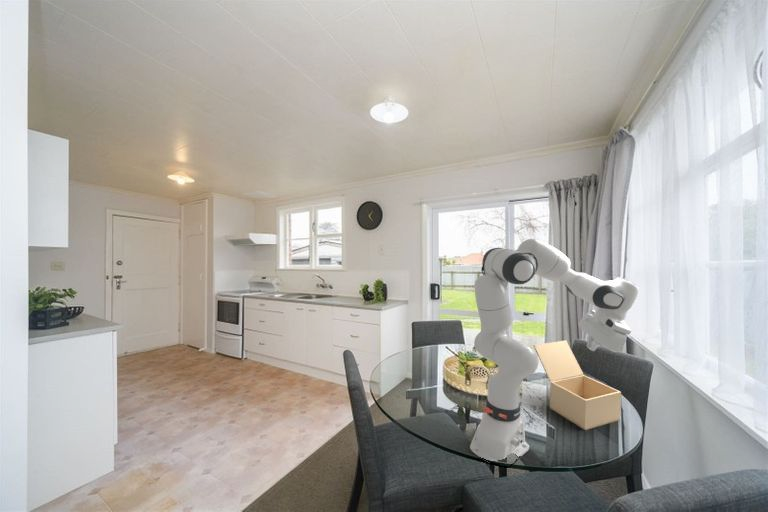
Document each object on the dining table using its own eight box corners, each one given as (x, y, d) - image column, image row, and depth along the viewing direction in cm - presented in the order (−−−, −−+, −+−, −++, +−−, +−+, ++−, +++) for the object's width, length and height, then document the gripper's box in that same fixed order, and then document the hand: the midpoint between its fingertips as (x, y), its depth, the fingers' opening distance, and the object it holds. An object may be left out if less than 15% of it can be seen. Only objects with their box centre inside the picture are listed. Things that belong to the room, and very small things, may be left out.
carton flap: (566, 340, 143) (565, 340, 144) (534, 345, 137) (533, 345, 137) (583, 374, 135) (582, 374, 136) (550, 381, 129) (549, 381, 129)
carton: (619, 420, 121) (621, 391, 120) (584, 430, 114) (585, 400, 114) (582, 400, 136) (583, 374, 135) (549, 408, 130) (550, 381, 129)
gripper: (583, 305, 123) (568, 334, 126) (618, 327, 103) (599, 360, 106) (597, 311, 123) (581, 339, 126) (635, 333, 103) (615, 366, 106)
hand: (590, 349), depth 116 cm, fingers closed
